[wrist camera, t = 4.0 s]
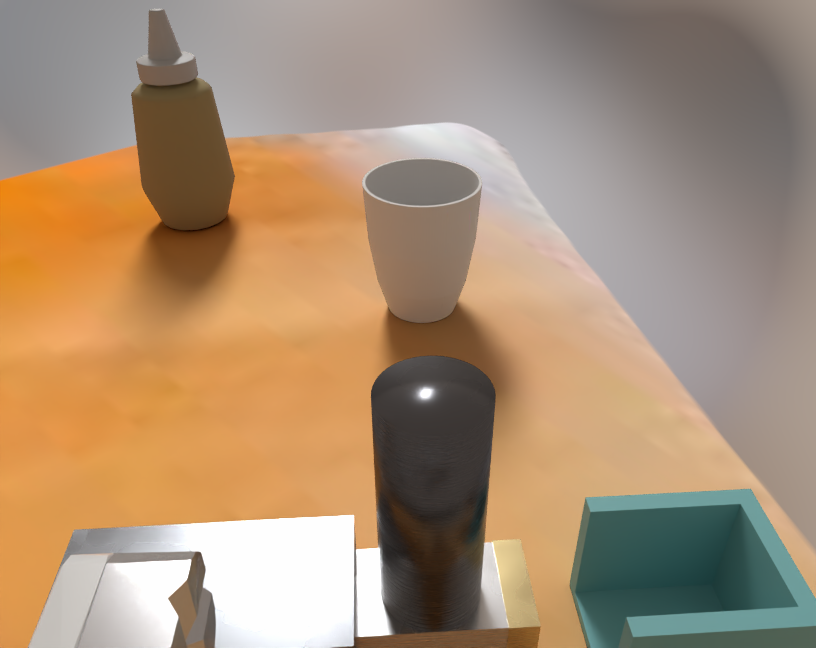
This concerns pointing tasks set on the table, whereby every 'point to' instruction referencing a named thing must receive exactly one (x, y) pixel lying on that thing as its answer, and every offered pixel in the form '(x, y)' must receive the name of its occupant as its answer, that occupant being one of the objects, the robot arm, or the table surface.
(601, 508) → the socket
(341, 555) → the sleeve
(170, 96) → the squeeze bottle
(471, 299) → the table surface
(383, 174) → the cup
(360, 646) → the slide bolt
